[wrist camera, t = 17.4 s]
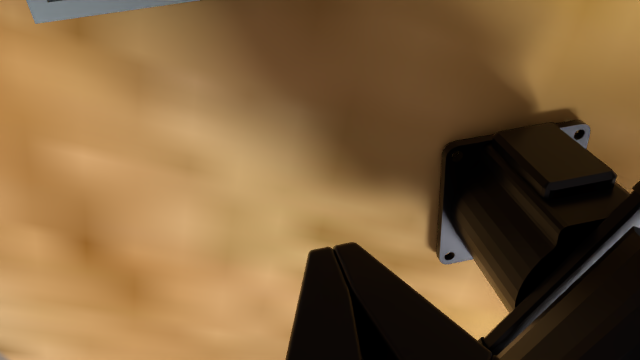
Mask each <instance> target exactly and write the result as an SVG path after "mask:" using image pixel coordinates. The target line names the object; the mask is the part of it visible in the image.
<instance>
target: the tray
mask: <svg viewBox="0 0 640 360" xmlns="http://www.w3.org/2000/svg"><path fill="white" fill-rule="evenodd" d="M26 1H27V3H28V6H29V8H30V11H31V14H32V16H33V19H34V21H35V24H37V23H44V22H51V21H58V20H65V19H72V18H79V17H86V16H93V15H100V14H107V13H114V12H121V11H128V10H135V9H142V8H149V7H156V6H163V5H170V4H177V3H184V2H191V1H198V0H26Z"/></svg>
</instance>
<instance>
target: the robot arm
mask: <svg viewBox="0 0 640 360" xmlns="http://www.w3.org/2000/svg"><path fill="white" fill-rule="evenodd" d="M578 130H579V131H578ZM577 131H578V133H577V134H575V133H576V132H577ZM574 134H575V135H574ZM589 136H590V127H589V126H588V125H587V124H586V123H584V122H583V121H581V120H573V121H567V122H562V123H556V124H554V123H545V124H539V125H534V126H528V127H522V128H517V129H511V130H505V131H500V132H497V133H496V134H493V135H488V136H482V137H476V138H470V139H465V140H459V141H454V142H451V143H449V144H448V145H446V146H445V148H444V149H443V152H442V163H441V180H440V197H439V214H438V231H437V248H436V254H437V257H438V259H439V260H440V262H441V263H443V264H452V263H457V262H462V261H466V260H471V259H474V261H475V262H476V264H477V265H478V267H479V268H480V270H481V271H482V273H483V274H484V275H485V277H486V278H487V280H488V281H489V283H490V284H491V286H492V287H493V289H494V290H495V292H496V293H497V295H498V296H499V298H500V299H501V301H502V302H503V304H504V305H505V307H506V308H507V310H508V311H509V314H508V315H507V316H506V317H505V318H504V319H503V320H502V321H501V322H500V323H499V324H498V325H497V326H496V327H495V328H494V329H493V330H492V331H491V332H490V333H489V334H488V335H487V336H486V337H485V338H484V337H481V338H480V339H479V340H478V341H477V340H476V339H475V338H473V337H472V336H471V335H470V334H468V333H467V332H466V331H465V330H464V329H462V328H461V327H460V326H459V325H457V324H456V323H455V322H454V321H452V320H451V319H450V318H449V317H447V316H446V315H445V314H444V313H442V312H441V311H440V310H439V309H437V308H436V307H435V306H434V305H433V304H431V303H430V302H429V301H428V300H426V299H425V298H424V297H423V296H421V295H420V294H419V293H418V292H416V291H415V290H414V289H413V288H411V287H410V286H409V285H408V284H406V283H405V282H404V281H403V280H401V279H400V278H399V277H398V276H397V275H395V274H394V273H393V272H392V271H390V270H389V269H388V268H387V267H385V266H384V265H383V264H382V263H380V262H379V261H378V260H377V259H375V258H374V257H373V256H372V255H370V254H369V253H368V252H367V251H366V250H364V249H363V248H362V247H361V246H359V245H358V244H357V243H354V242H350V243H345V244H340V245H336V246H334V247H333V249H332V248H331V247H325V248H320V249H315V250H311V251H310V252H309V254H308V258H307V263H306V268H305V272H304V277H303V281H302V286H301V291H300V295H299V300H298V304H297V309H296V314H295V318H294V323H293V328H292V332H291V337H290V341H289V346H288V351H287V355H286V360H640V181H639V182H638V183H637V184H636V185H635V186H634V187H633V188H632V189H633V190H634V191H633V192H632V193H631V194H630V193H628V192H627V191H626V190H625V189H624V188H622V187H621V186H620V185H619V184H617V183H616V182H615V181H616V178H617V175H616V173H615V172H614V171H613V170H612V169H611V168H609V167H608V166H607V165H606V164H604V163H603V162H602V161H600V160H599V159H598V158H597V157H595V156H594V155H593V154H592V153H590V152H589V151H588V150H587V144H588V140H589ZM457 151H459V153H458V154H457V155H456V156H454V157H452V155H453V154H454V153H455V152H457ZM449 252H450V253H449ZM447 253H449V254H447ZM446 254H447V255H446Z"/></svg>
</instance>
